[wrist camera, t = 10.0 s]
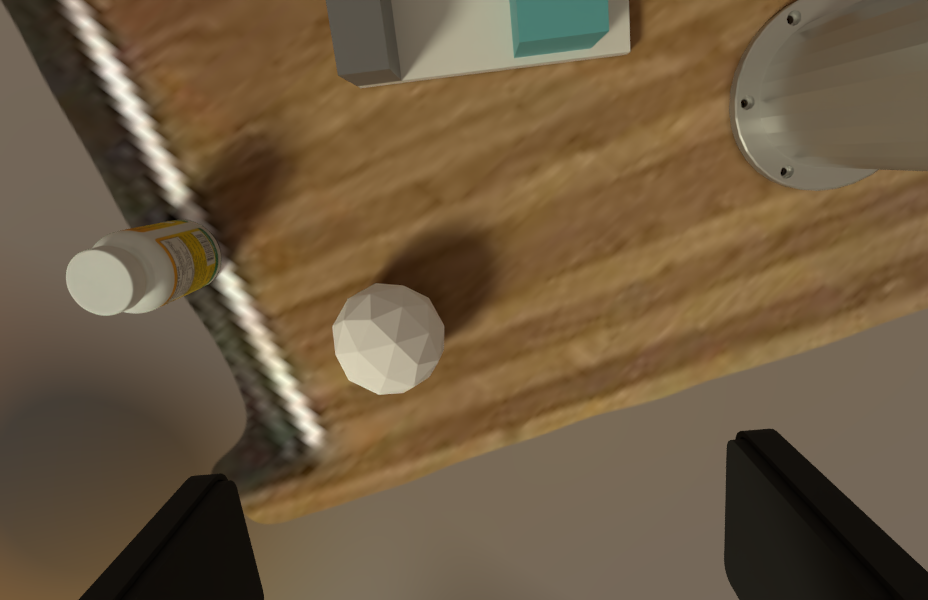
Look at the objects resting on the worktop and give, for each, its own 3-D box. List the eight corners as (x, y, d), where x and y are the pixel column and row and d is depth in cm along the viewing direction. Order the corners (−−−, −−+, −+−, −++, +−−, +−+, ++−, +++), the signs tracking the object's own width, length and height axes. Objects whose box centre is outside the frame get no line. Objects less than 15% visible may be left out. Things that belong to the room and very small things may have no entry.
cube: (587, -39, 33) (605, -72, 28) (591, 48, 34) (609, 30, 30) (506, -28, 33) (511, -59, 28) (514, 58, 35) (519, 42, 30)
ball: (395, 335, 44) (336, 406, 39) (361, 255, 40) (290, 324, 34) (474, 350, 40) (420, 431, 35) (447, 263, 36) (381, 342, 31)
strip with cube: (623, -48, 34) (652, -90, 28) (626, 54, 35) (655, 34, 29) (345, -10, 35) (318, -43, 29) (360, 88, 36) (337, 75, 31)
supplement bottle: (234, 241, 40) (159, 267, 30) (207, 300, 41) (127, 343, 32) (167, 204, 39) (70, 220, 30) (142, 266, 40) (41, 300, 31)
